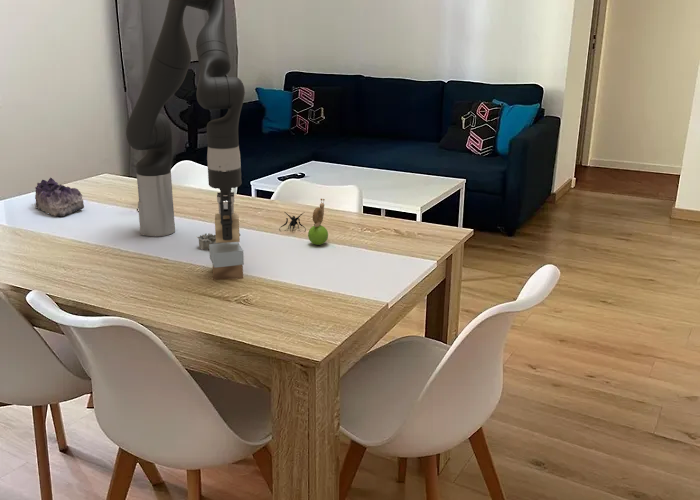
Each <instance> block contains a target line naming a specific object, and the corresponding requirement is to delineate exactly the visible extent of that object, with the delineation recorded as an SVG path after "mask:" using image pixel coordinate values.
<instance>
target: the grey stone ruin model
mask: <svg viewBox="0 0 700 500" xmlns="http://www.w3.org/2000/svg"><path fill="white" fill-rule="evenodd" d="M239 235H240V236H241V233H240V232H239ZM196 238H197V239H198V247H199V248H200V250H206V249H207V250H209V244H219V243H216V234H213V233H210V232H209V233H204V234H202V235H199V236H196ZM222 243H230V242H222ZM238 243H239V244H240V242H238Z"/></svg>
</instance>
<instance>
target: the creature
mask: <svg viewBox="0 0 700 500" xmlns="http://www.w3.org/2000/svg"><path fill="white" fill-rule="evenodd" d="M304 213H305V211H303V212H302V213H301V214H300V215H298V216H297V217H296V216H294V215H292V216H291V215H289V214H288V213H287V212H286V211H284V214H285V215H286V216H288V217H289V218H288V217H286V218H285V219H286V221H285V223H284V224H283V225H281V226H279V229H278V231H281V228H283V227H285V226H286V225H287V224H288V220H289V219H290V220H291V221H290V222H289V225H288V228H287V229H286V230H284V232H285V231H286V232H287V230H291V228H292V231H291V232H292V233H293V232H294V229H295V227H296V225H297V228H298V229H299V230H296V232H298V231H299V232H302V231H301V229H300V226H301V227H303V228H304V230H305V231H304V232H306V230H307V228H306V227H305V226H304V224H301V222H300V218H301V216H302V215H303V214H304Z"/></svg>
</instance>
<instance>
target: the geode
mask: <svg viewBox="0 0 700 500" xmlns="http://www.w3.org/2000/svg"><path fill="white" fill-rule="evenodd" d="M36 184H37V185H36V186H35V187H34V188H35V195H34V198H35V208H36V207H37V208H36V209H38V208H39V209H38V210H40V209H41V210H40V211H42V212H44V211H45V212H44V213H45V214H46V213H49V214H48V215H50V214H51V216H54V217H62V218H63V217H65V216H67V215H70V214H72V213H75V212H77V211H81V210H84V208H85V205H84V204H85V203H84V199H83V194H82V193H81V191H80V189H78V188H76V187H72V188H71V187H70V186H66V185H64V184H63V185H62V184H59V182H56V181H55V179H54V178H52V177H49V179H48V180H45V179H42V180H41V181H40V182H37V183H36Z"/></svg>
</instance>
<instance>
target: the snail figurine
mask: <svg viewBox="0 0 700 500" xmlns="http://www.w3.org/2000/svg"><path fill="white" fill-rule="evenodd" d="M322 201H323V202H322ZM320 202H321V203H320V204H319V207H316V208H314V209H313V212H312V221H313V226H311V227H310V228H309V230H308V233H307V238H308V240H309V242H310V243H311V244H312V245H316V246H321V245H324V244H325V243H326V242H327V241H328V238H329V232H328V229H327V228H326V227H325V226H323V225H321V224H322V223H323V220H324V213H325V203H324V202H325V198H320Z"/></svg>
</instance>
